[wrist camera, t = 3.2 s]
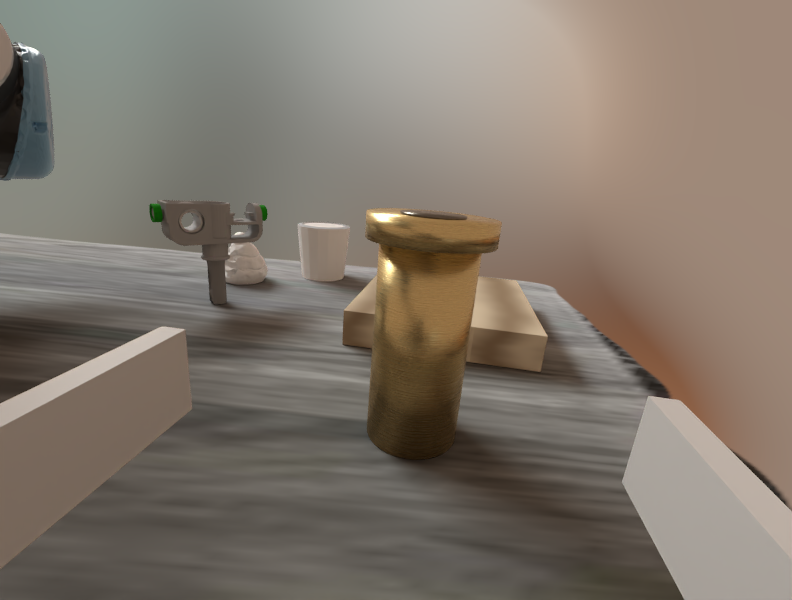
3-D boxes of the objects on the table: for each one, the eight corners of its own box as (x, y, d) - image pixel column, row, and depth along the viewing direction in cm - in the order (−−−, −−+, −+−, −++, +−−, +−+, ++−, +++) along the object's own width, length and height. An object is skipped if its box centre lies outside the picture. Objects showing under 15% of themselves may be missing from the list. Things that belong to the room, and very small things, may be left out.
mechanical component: (271, 298, 43) (270, 204, 40) (166, 314, 36) (155, 202, 33) (259, 291, 45) (257, 201, 42) (157, 305, 38) (146, 199, 35)
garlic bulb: (210, 229, 47) (254, 228, 51) (213, 277, 49) (255, 273, 53) (229, 236, 44) (274, 234, 47) (232, 288, 45) (275, 282, 49)
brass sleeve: (340, 456, 20) (351, 212, 16) (368, 392, 26) (381, 204, 22) (468, 479, 19) (509, 227, 15) (466, 407, 25) (496, 214, 21)
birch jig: (342, 344, 33) (343, 310, 32) (383, 289, 50) (384, 266, 49) (540, 372, 31) (547, 336, 30) (512, 304, 48) (516, 280, 47)
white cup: (317, 267, 58) (318, 219, 56) (357, 275, 55) (360, 225, 53) (286, 276, 52) (286, 223, 50) (329, 285, 49) (331, 229, 47)
